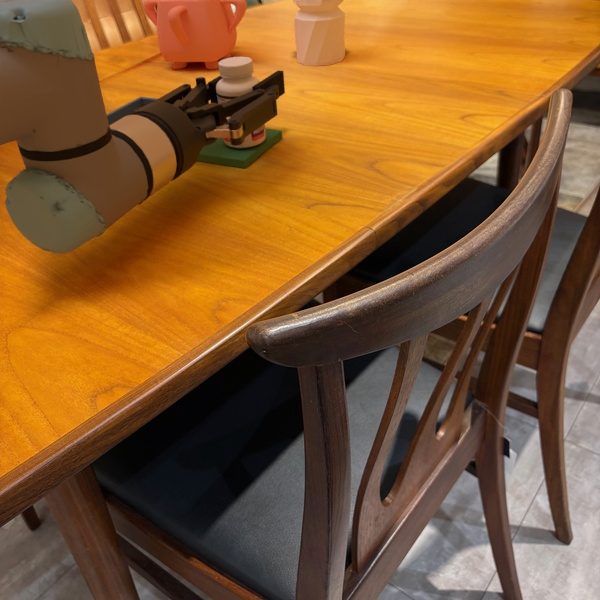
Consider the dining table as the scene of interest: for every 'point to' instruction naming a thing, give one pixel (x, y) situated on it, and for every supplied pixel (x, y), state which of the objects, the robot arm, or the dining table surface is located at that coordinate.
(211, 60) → the pink handled pot
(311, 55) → the vase
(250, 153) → the scouring pad
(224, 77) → the pill bottle
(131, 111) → the tray
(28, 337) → the dining table surface
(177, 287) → the dining table surface
